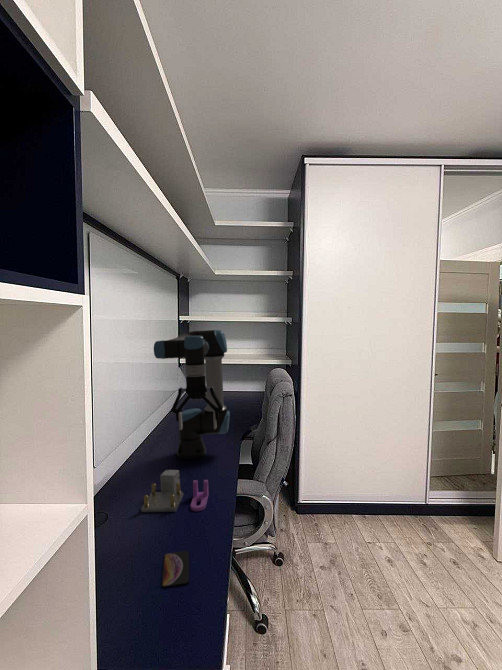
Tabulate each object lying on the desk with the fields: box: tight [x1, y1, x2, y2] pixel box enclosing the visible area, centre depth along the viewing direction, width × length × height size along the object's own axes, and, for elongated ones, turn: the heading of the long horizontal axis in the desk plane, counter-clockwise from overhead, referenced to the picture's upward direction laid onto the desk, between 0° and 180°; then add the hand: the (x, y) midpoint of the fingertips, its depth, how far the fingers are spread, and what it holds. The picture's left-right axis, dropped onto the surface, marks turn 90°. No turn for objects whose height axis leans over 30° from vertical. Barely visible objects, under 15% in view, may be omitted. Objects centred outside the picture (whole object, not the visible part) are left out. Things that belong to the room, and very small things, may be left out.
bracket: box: [190, 479, 209, 512], centre depth 150 cm, size 13×6×7 cm, turn 0°
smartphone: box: [160, 550, 190, 589], centre depth 111 cm, size 8×1×15 cm
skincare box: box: [159, 469, 181, 492], centre depth 163 cm, size 6×6×7 cm
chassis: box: [140, 482, 184, 513], centre depth 151 cm, size 13×13×6 cm
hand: (198, 428), depth 153 cm, fingers open, 13 cm apart
